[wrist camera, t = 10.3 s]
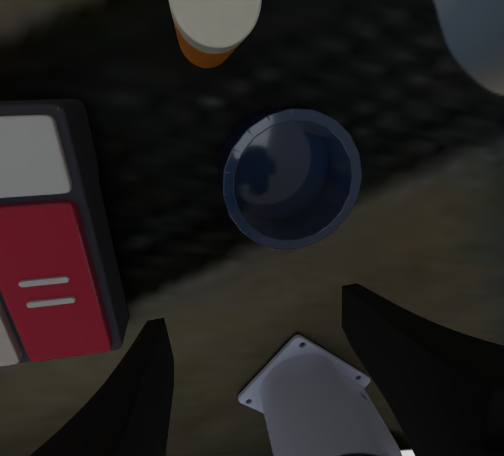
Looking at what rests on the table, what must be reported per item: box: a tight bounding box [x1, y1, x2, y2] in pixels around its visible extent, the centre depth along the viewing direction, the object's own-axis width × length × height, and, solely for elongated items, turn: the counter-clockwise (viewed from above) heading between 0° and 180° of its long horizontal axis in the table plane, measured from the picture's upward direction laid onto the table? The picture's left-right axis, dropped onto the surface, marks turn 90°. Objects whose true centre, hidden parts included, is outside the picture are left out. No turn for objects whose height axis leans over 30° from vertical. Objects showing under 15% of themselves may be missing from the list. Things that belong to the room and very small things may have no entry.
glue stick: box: [169, 0, 262, 68], centre depth 14 cm, size 3×3×8 cm
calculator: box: [0, 99, 129, 366], centre depth 19 cm, size 11×4×15 cm
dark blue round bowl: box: [218, 106, 362, 249], centre depth 20 cm, size 8×8×4 cm
